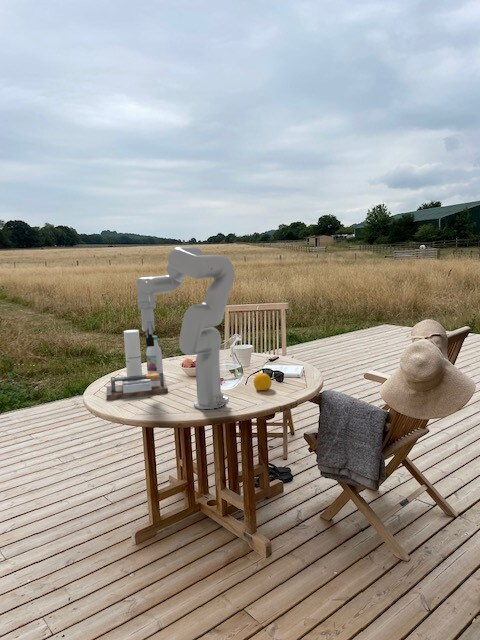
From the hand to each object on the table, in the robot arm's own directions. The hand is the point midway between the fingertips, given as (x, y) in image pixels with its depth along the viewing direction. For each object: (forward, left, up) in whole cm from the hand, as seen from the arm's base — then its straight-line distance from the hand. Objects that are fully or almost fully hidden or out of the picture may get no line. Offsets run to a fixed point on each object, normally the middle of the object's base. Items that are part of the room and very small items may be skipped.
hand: (150, 346), depth 202 cm
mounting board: (+5, +5, -20) cm, 21 cm away
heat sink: (+5, +5, -18) cm, 19 cm away
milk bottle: (+16, -21, -21) cm, 33 cm away
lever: (+5, +5, -14) cm, 16 cm away
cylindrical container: (+17, -7, -20) cm, 28 cm away
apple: (-46, -19, -21) cm, 54 cm away
